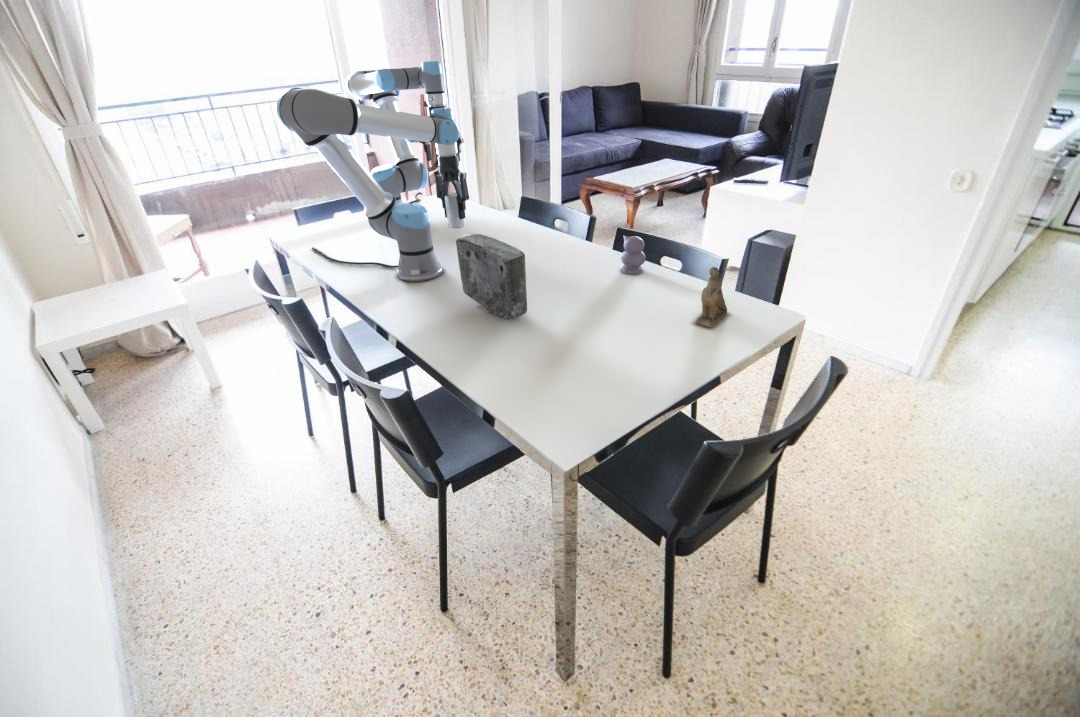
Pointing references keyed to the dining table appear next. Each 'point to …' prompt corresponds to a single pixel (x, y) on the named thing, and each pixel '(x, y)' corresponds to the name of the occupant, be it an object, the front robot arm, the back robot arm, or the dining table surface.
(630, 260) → the cat figurine
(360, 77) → the back robot arm
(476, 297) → the concrete block
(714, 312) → the brown carved statuette
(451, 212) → the canister
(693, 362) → the dining table surface
